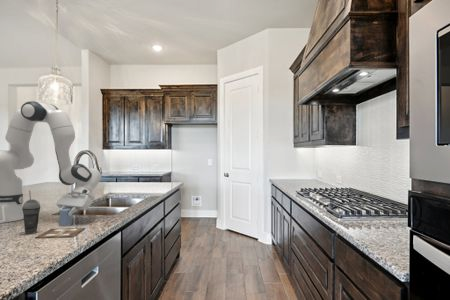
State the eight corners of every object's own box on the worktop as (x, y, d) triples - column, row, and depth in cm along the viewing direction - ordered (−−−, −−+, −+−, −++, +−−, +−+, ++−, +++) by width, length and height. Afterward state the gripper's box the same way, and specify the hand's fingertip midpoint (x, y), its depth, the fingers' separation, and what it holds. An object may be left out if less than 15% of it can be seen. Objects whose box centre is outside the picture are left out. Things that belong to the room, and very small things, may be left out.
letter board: (35, 238, 122) (35, 237, 122) (50, 229, 136) (50, 228, 136) (73, 237, 124) (73, 236, 124) (85, 228, 138) (85, 227, 138)
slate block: (64, 226, 142) (65, 210, 142) (59, 225, 144) (59, 210, 144) (71, 224, 146) (71, 209, 146) (66, 223, 147) (66, 208, 148)
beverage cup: (30, 235, 126) (31, 191, 127) (17, 234, 128) (18, 191, 128) (43, 230, 134) (44, 189, 134) (31, 229, 135) (32, 189, 135)
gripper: (63, 189, 155) (46, 209, 146) (91, 191, 148) (75, 213, 139) (70, 196, 159) (54, 216, 150) (97, 198, 152) (82, 219, 143)
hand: (64, 214), depth 144 cm, fingers closed on slate block, 4 cm apart
